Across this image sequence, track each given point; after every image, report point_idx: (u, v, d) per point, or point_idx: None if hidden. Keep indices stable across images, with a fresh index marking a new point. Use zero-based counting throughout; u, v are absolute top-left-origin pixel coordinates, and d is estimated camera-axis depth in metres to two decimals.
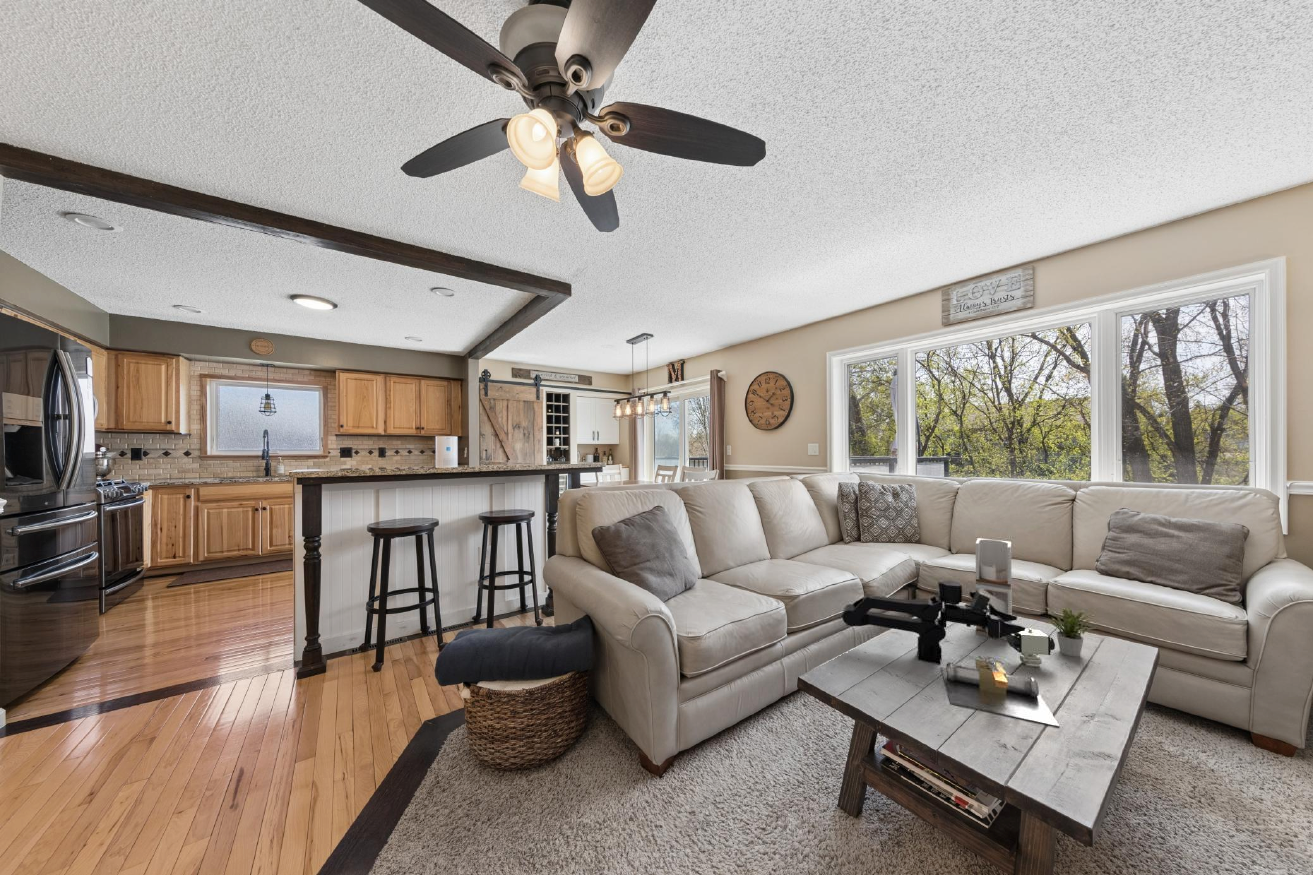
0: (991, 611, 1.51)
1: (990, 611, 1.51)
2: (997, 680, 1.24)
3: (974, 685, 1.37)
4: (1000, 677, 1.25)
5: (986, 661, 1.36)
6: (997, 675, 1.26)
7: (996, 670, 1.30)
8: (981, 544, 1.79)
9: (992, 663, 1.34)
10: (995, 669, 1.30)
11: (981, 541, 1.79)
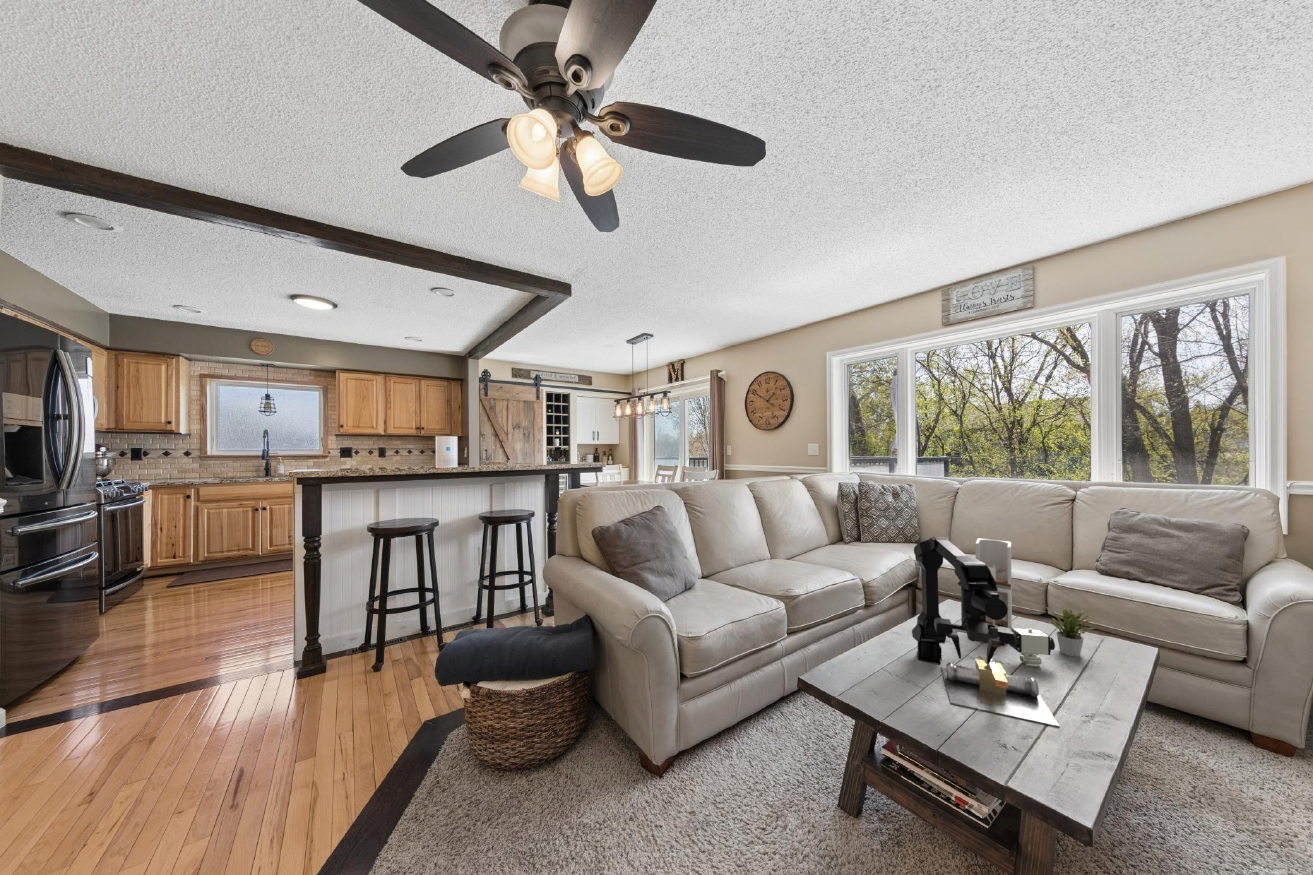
0: (991, 641, 1.26)
1: (991, 640, 1.26)
2: (997, 680, 1.24)
3: (974, 685, 1.37)
4: (1000, 677, 1.25)
5: (986, 661, 1.36)
6: (997, 675, 1.26)
7: (996, 670, 1.30)
8: (981, 544, 1.79)
9: (992, 663, 1.34)
10: (995, 669, 1.30)
11: (981, 541, 1.79)
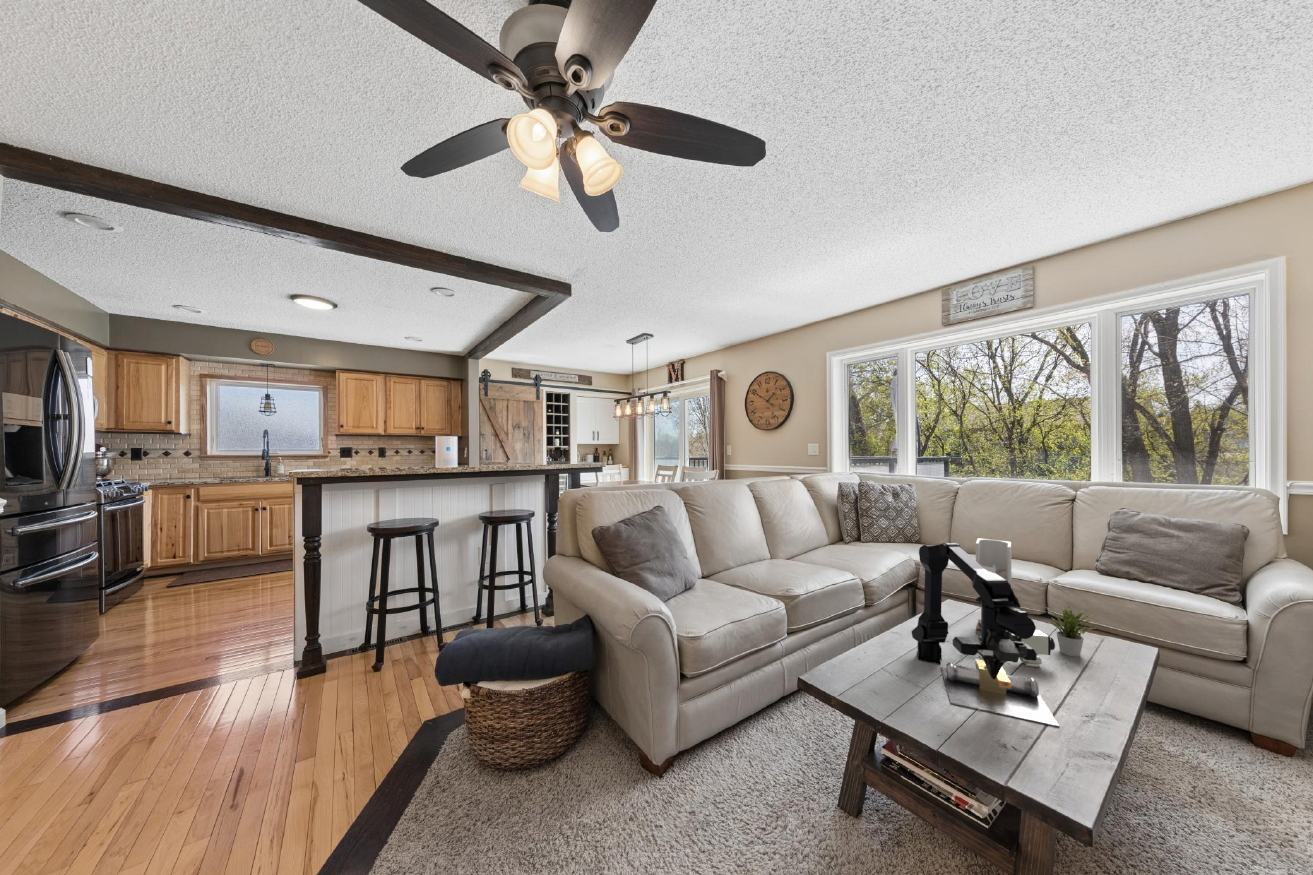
0: None
1: None
2: (1000, 681, 1.24)
3: (974, 685, 1.37)
4: (1003, 678, 1.25)
5: None
6: (1000, 676, 1.26)
7: None
8: (981, 544, 1.79)
9: None
10: None
11: (981, 541, 1.79)
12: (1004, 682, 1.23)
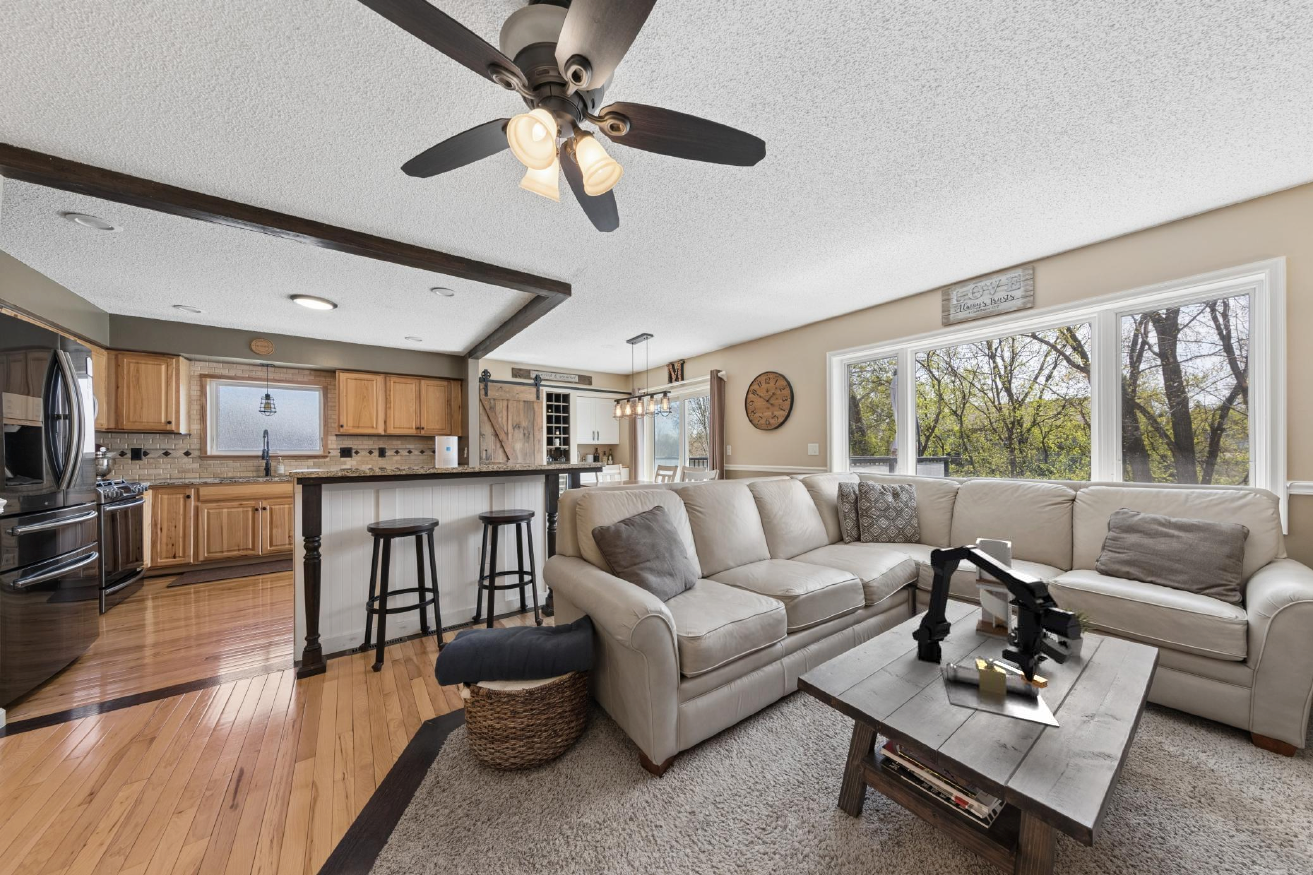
0: None
1: None
2: (1042, 682, 1.23)
3: (974, 685, 1.37)
4: (1037, 677, 1.25)
5: (990, 662, 1.35)
6: None
7: (1016, 670, 1.30)
8: (981, 544, 1.79)
9: (999, 663, 1.34)
10: (1014, 669, 1.30)
11: (981, 541, 1.79)
12: (1044, 682, 1.23)
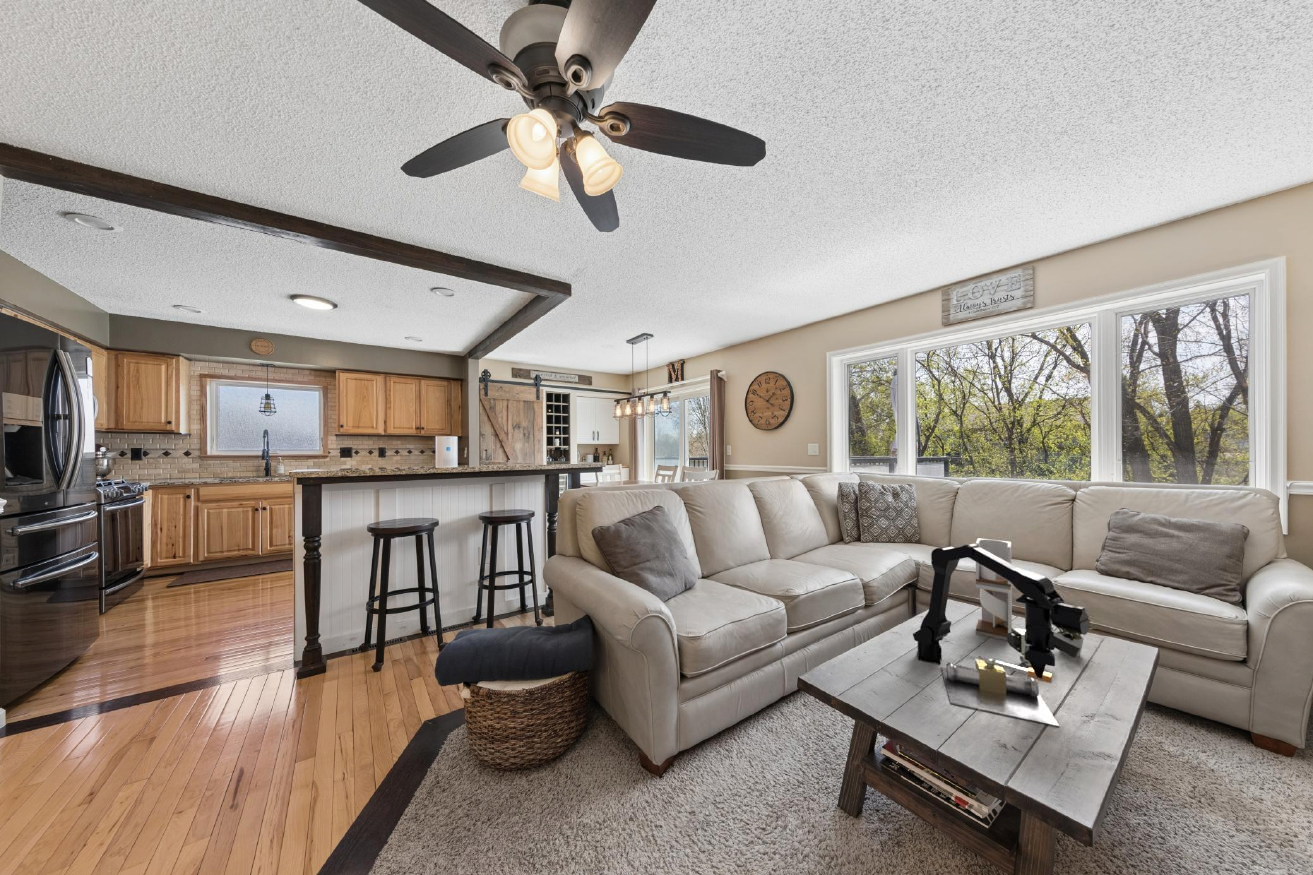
0: None
1: None
2: (1051, 677, 1.26)
3: (974, 685, 1.37)
4: None
5: (993, 663, 1.35)
6: None
7: (1020, 667, 1.31)
8: (981, 544, 1.79)
9: (1000, 662, 1.34)
10: (1017, 667, 1.32)
11: (981, 541, 1.79)
12: (1051, 676, 1.26)
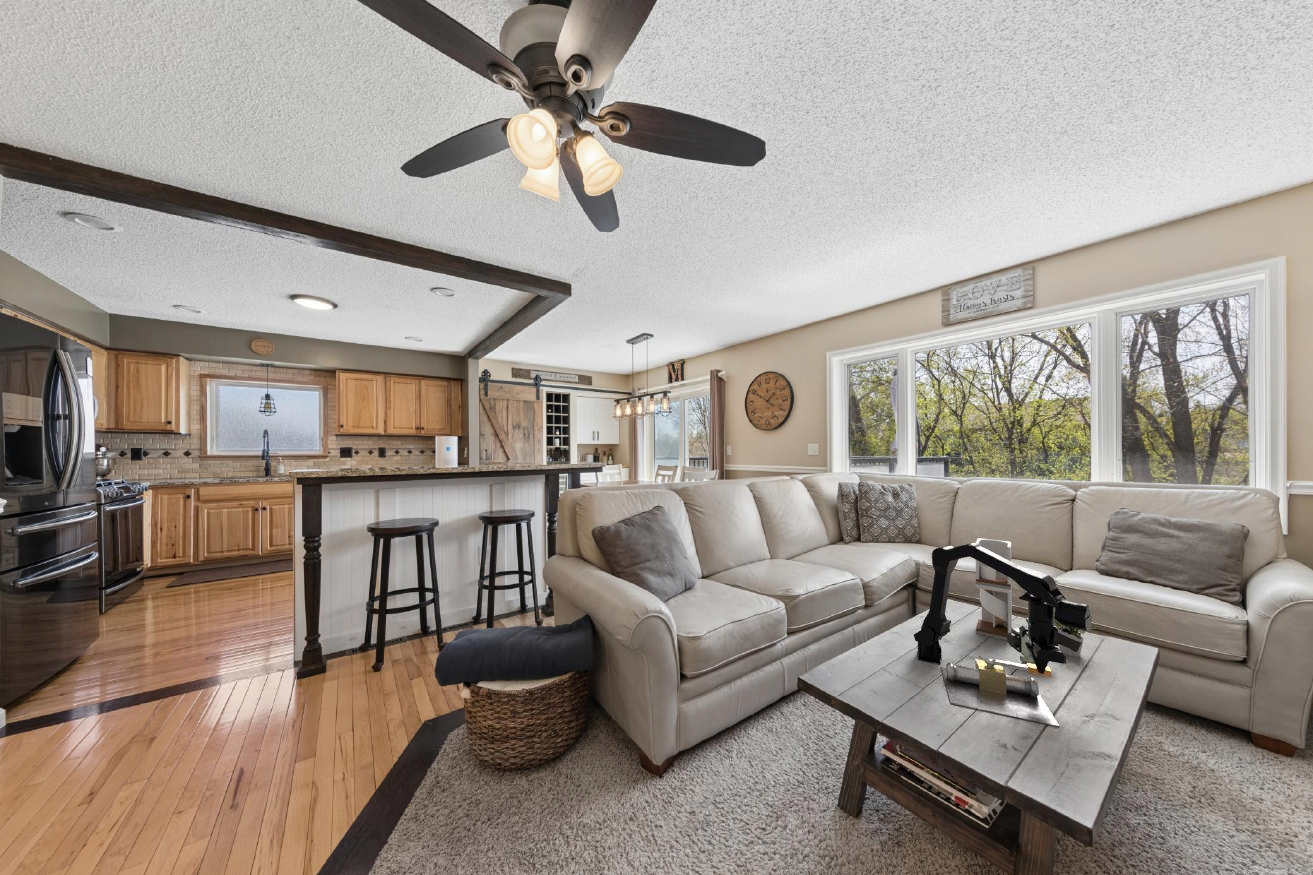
0: None
1: None
2: (1050, 671, 1.29)
3: (974, 685, 1.37)
4: None
5: (994, 663, 1.35)
6: None
7: (1019, 664, 1.33)
8: (981, 544, 1.79)
9: (1000, 661, 1.35)
10: (1017, 664, 1.33)
11: (981, 541, 1.79)
12: (1049, 670, 1.30)
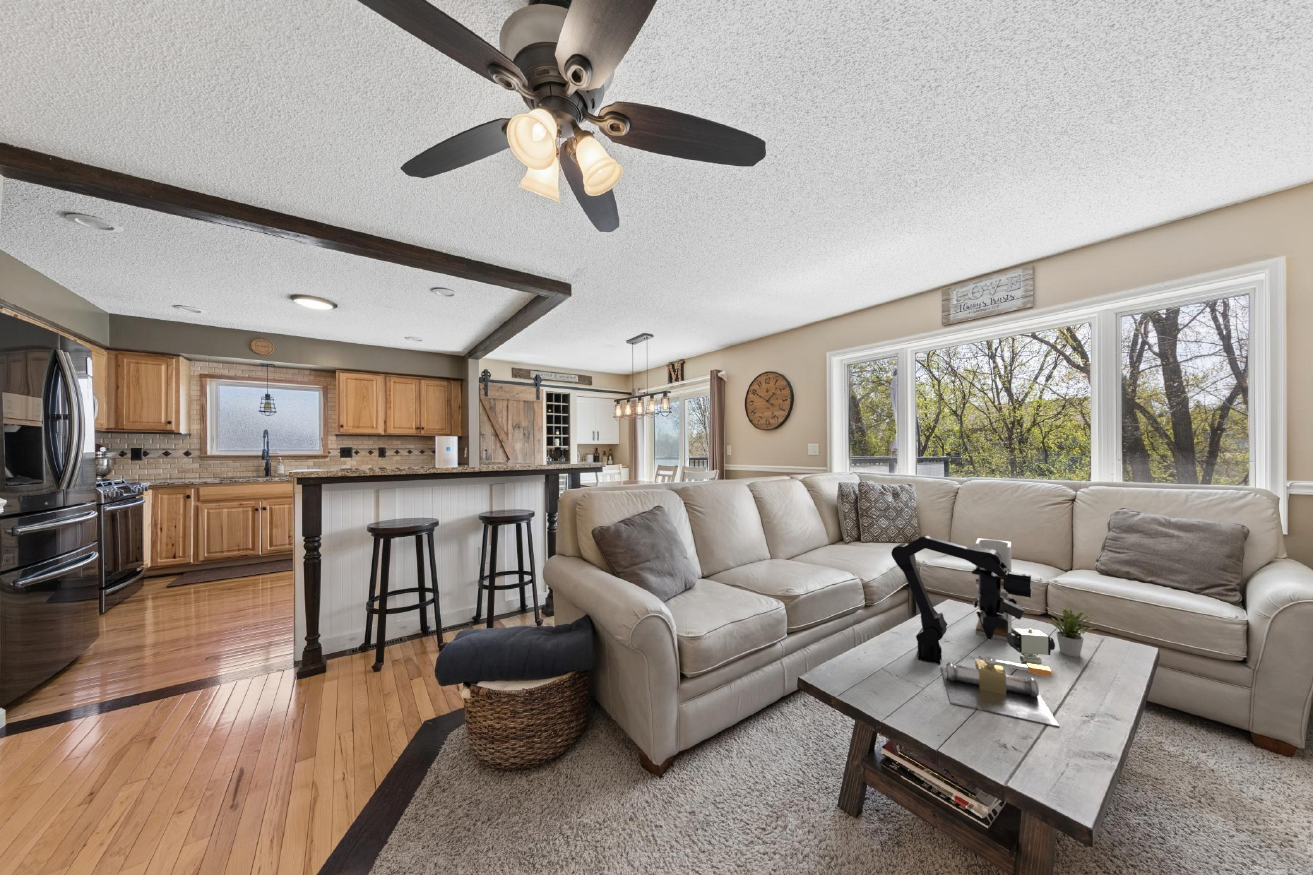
0: None
1: None
2: (1050, 671, 1.29)
3: (974, 685, 1.37)
4: (1041, 667, 1.31)
5: (994, 663, 1.35)
6: (1039, 667, 1.30)
7: (1019, 664, 1.33)
8: (981, 544, 1.79)
9: (1000, 661, 1.35)
10: (1017, 664, 1.33)
11: (981, 541, 1.79)
12: (1049, 670, 1.30)
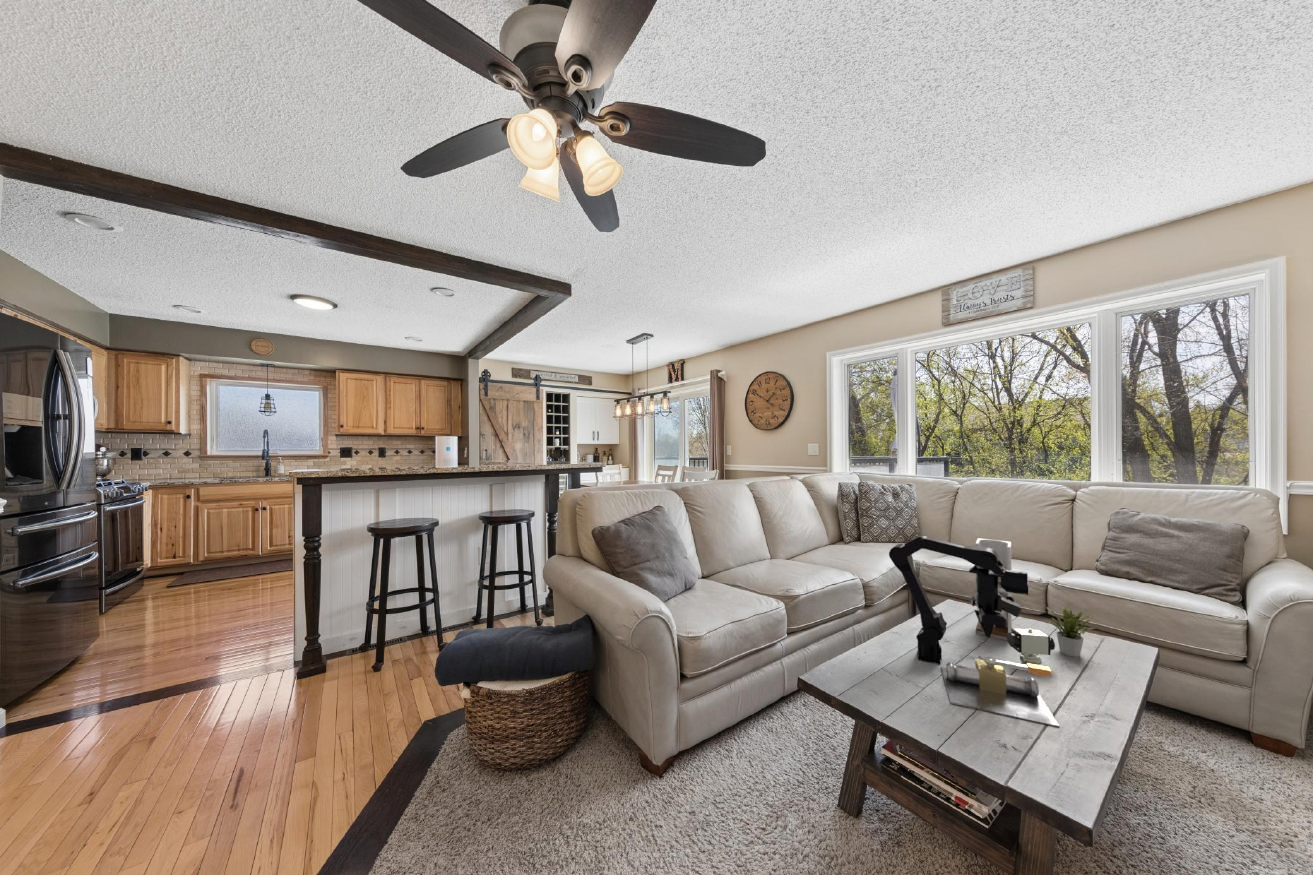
0: None
1: None
2: (1050, 671, 1.29)
3: (974, 685, 1.37)
4: (1041, 667, 1.31)
5: (994, 663, 1.35)
6: (1039, 667, 1.30)
7: (1019, 664, 1.33)
8: (981, 544, 1.79)
9: (1000, 661, 1.35)
10: (1017, 664, 1.33)
11: (981, 541, 1.79)
12: (1049, 670, 1.30)
